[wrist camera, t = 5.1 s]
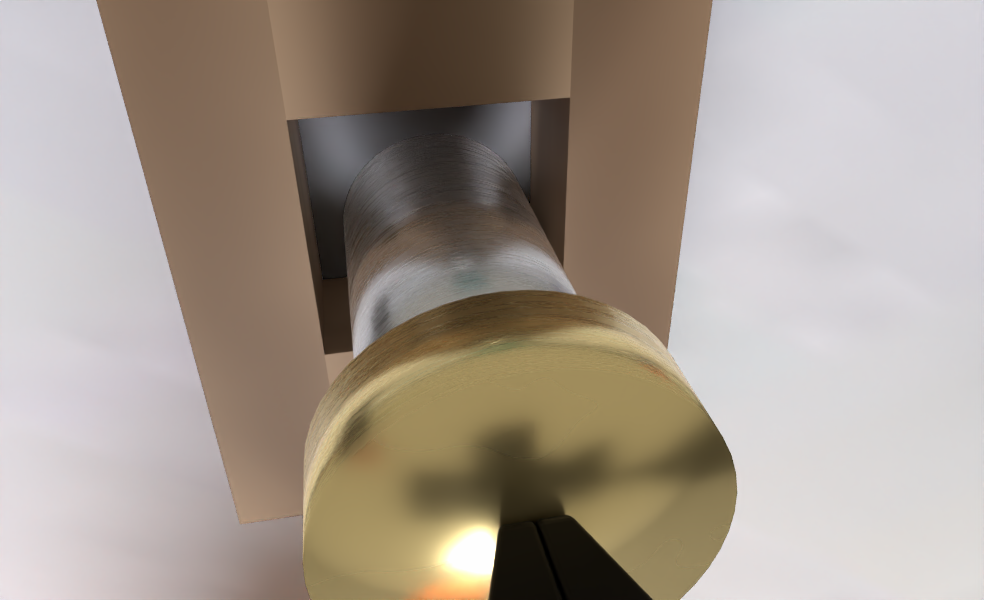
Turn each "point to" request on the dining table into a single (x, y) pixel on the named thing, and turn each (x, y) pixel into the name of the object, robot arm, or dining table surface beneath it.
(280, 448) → the socket block
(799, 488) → the dining table surface
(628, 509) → the brass plug
